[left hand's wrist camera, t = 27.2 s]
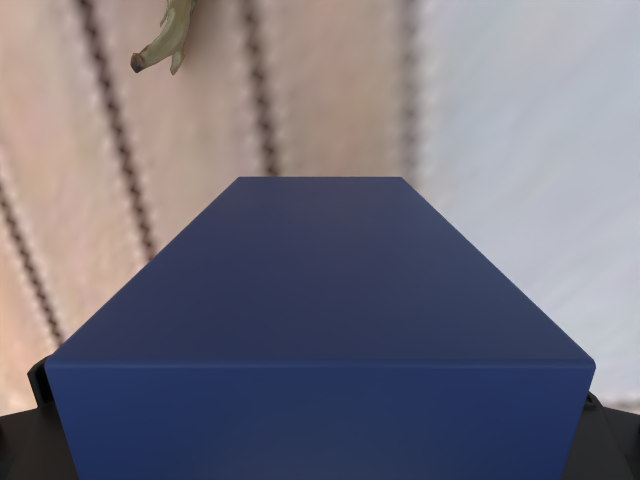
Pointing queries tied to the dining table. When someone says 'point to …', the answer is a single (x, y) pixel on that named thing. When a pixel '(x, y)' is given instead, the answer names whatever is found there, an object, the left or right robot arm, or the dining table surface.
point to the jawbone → (167, 38)
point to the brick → (320, 350)
